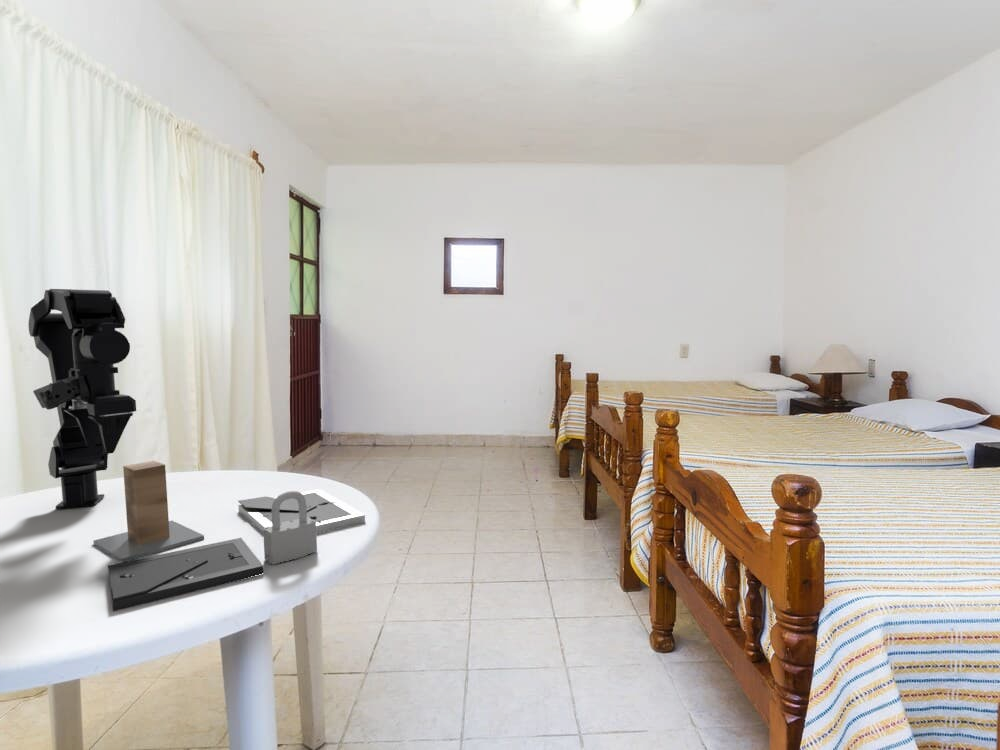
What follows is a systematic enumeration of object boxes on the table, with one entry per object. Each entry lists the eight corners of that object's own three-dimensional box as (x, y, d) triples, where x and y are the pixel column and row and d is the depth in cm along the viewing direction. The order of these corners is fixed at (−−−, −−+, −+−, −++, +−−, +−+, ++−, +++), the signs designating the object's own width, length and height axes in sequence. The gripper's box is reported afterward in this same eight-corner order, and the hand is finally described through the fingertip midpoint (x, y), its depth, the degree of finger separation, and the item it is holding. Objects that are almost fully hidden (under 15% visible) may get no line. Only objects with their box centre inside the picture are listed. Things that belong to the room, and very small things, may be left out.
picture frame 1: (113, 616, 73) (263, 578, 83) (112, 599, 73) (263, 563, 83) (108, 578, 84) (242, 549, 94) (107, 563, 84) (241, 535, 94)
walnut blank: (128, 538, 96) (123, 466, 94) (158, 531, 99) (153, 460, 98) (139, 545, 93) (134, 470, 92) (169, 537, 96) (165, 464, 95)
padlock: (274, 566, 86) (270, 499, 85) (262, 559, 89) (259, 494, 88) (319, 553, 91) (316, 489, 90) (307, 546, 94) (304, 484, 93)
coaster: (93, 544, 95) (93, 540, 95) (172, 523, 104) (172, 520, 104) (122, 562, 88) (121, 558, 88) (204, 538, 97) (204, 535, 97)
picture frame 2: (238, 515, 111) (274, 547, 95) (238, 500, 111) (273, 530, 95) (320, 499, 121) (365, 526, 105) (319, 485, 120) (364, 510, 104)
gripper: (21, 363, 103) (28, 451, 104) (54, 367, 91) (62, 466, 93) (95, 359, 112) (101, 440, 113) (134, 363, 100) (140, 453, 102)
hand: (100, 449), depth 105 cm, fingers open, 9 cm apart
